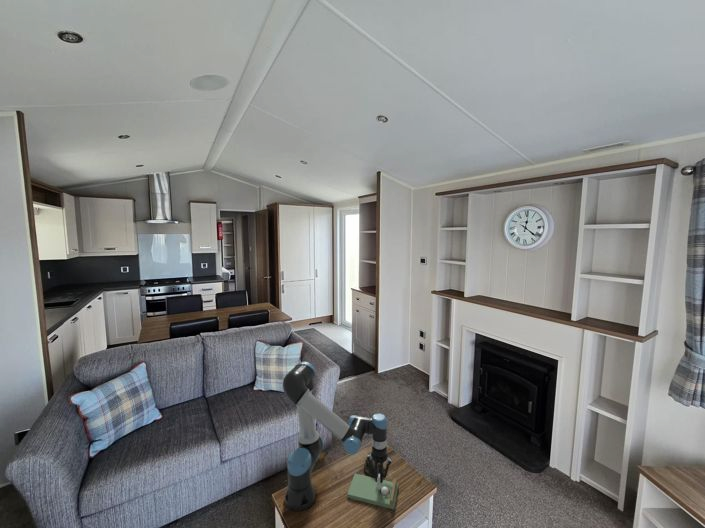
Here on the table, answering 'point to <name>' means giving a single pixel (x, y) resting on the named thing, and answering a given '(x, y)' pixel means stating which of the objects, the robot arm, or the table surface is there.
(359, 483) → the green
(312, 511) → the table surface
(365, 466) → the rock
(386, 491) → the ball
